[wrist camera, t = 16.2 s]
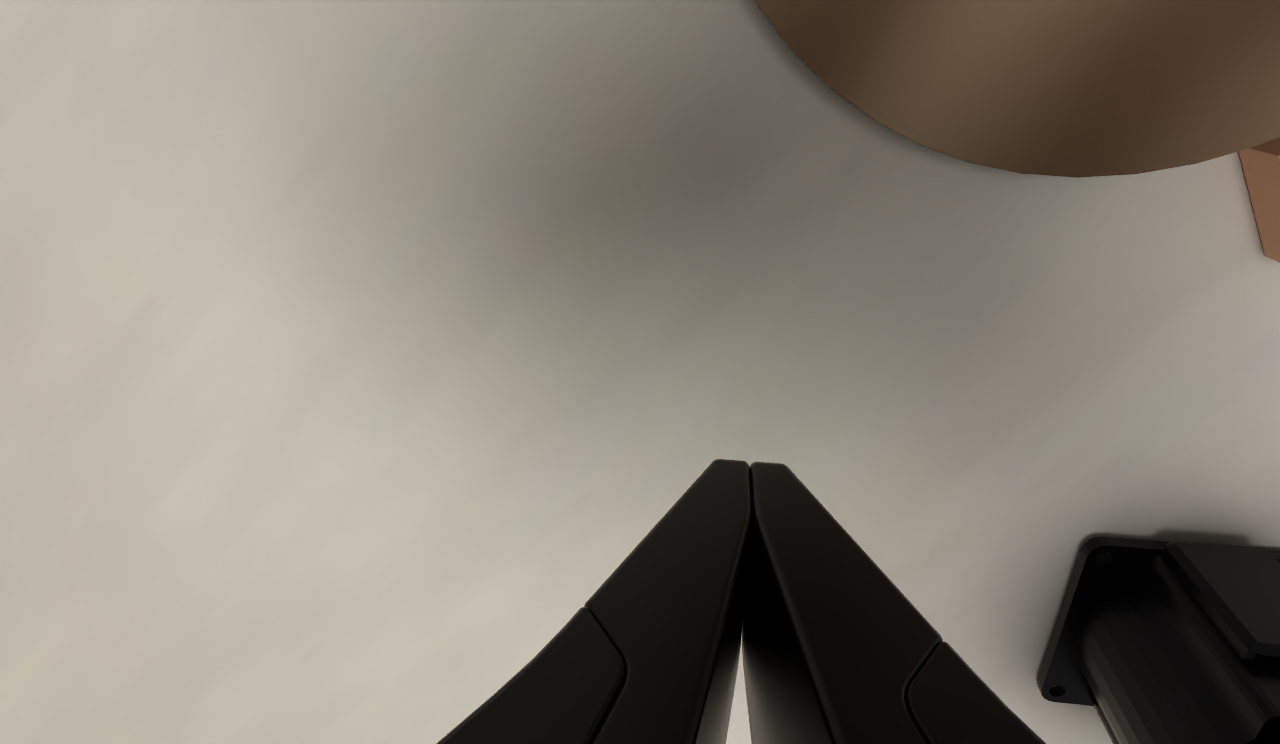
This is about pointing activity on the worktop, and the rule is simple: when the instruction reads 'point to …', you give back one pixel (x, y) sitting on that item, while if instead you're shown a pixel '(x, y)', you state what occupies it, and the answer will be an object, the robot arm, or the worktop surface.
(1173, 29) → the turntable
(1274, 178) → the pointer
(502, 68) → the worktop surface
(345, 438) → the worktop surface
